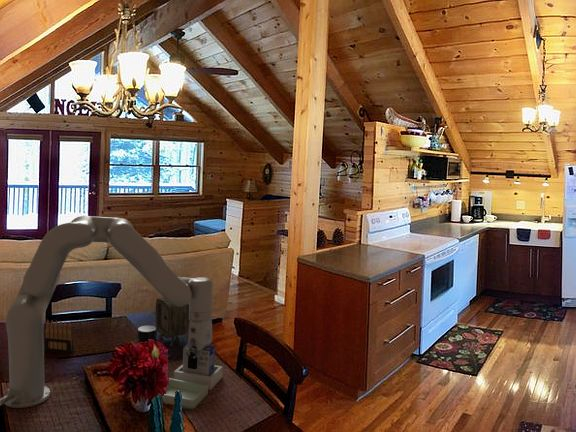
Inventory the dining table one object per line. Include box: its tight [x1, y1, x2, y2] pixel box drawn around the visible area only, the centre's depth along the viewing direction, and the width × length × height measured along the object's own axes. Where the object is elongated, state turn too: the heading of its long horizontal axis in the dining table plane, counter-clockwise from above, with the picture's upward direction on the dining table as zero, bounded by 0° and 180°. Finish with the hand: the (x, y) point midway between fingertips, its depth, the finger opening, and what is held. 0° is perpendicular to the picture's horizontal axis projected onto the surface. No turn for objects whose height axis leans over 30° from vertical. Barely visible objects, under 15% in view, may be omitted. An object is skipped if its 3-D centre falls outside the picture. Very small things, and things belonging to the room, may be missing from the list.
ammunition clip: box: [44, 319, 74, 354], centre depth 184 cm, size 11×2×12 cm, turn 83°
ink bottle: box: [134, 324, 160, 344], centre depth 180 cm, size 10×9×12 cm
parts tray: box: [162, 377, 209, 411], centre depth 154 cm, size 10×14×3 cm
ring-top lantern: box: [155, 297, 190, 348], centre depth 198 cm, size 14×9×25 cm, turn 37°
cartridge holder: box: [173, 363, 224, 391], centre depth 167 cm, size 10×14×4 cm
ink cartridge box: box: [182, 343, 216, 377], centre depth 166 cm, size 10×6×14 cm, turn 79°
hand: (198, 362), depth 166 cm, fingers open, 9 cm apart
